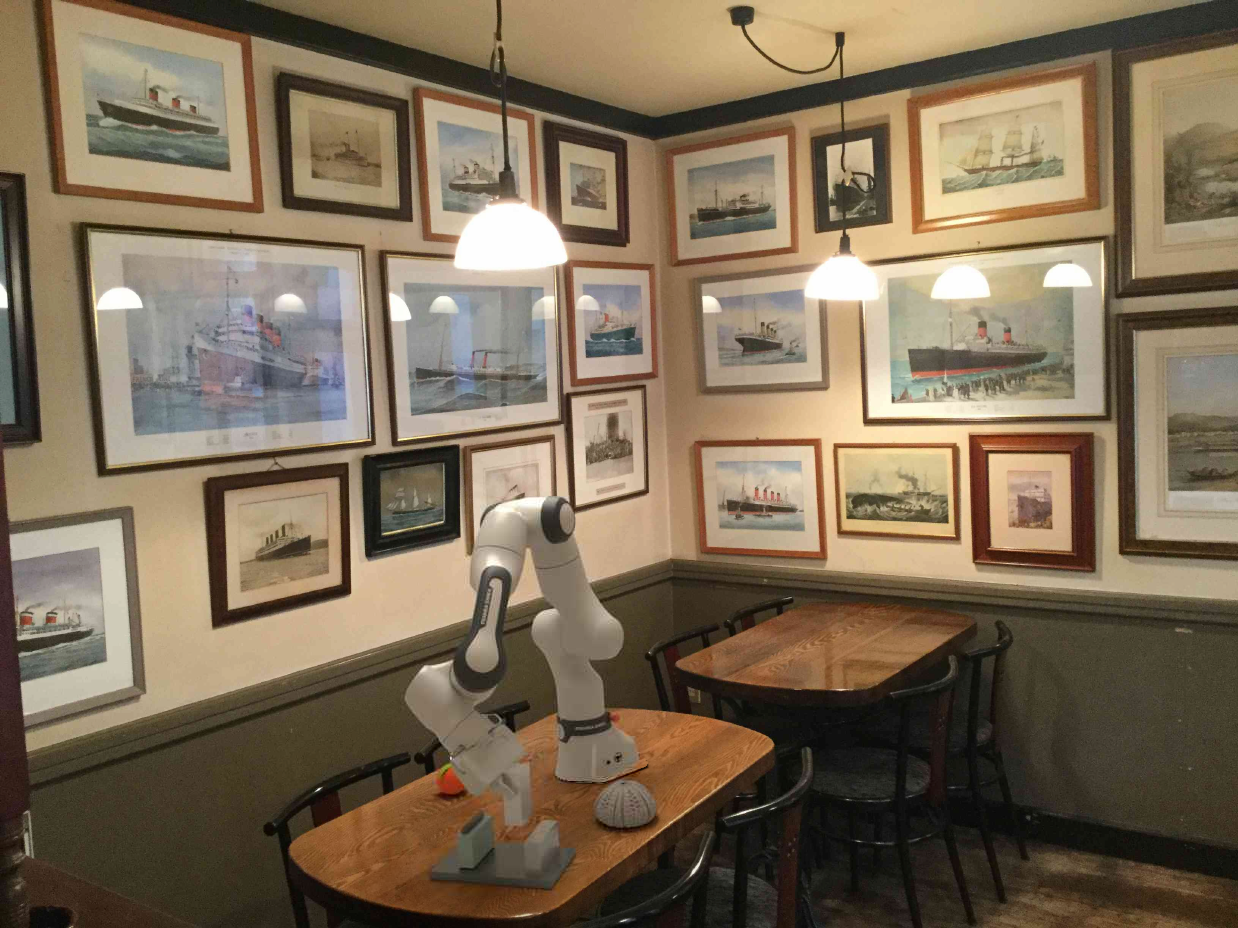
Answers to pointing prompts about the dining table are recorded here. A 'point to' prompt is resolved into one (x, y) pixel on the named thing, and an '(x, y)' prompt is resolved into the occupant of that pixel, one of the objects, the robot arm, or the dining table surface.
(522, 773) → the block
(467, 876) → the vise
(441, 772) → the clementine
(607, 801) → the sea urchin shell
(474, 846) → the sliding jaw
